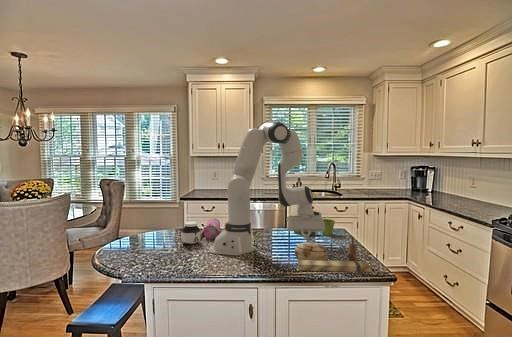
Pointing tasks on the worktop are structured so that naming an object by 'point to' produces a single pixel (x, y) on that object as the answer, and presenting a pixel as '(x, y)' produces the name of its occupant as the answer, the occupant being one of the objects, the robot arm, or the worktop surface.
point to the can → (300, 233)
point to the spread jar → (190, 233)
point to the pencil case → (212, 228)
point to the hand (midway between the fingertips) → (306, 237)
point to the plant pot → (328, 227)
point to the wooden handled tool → (352, 251)
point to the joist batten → (334, 266)
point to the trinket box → (311, 251)
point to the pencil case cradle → (203, 233)
